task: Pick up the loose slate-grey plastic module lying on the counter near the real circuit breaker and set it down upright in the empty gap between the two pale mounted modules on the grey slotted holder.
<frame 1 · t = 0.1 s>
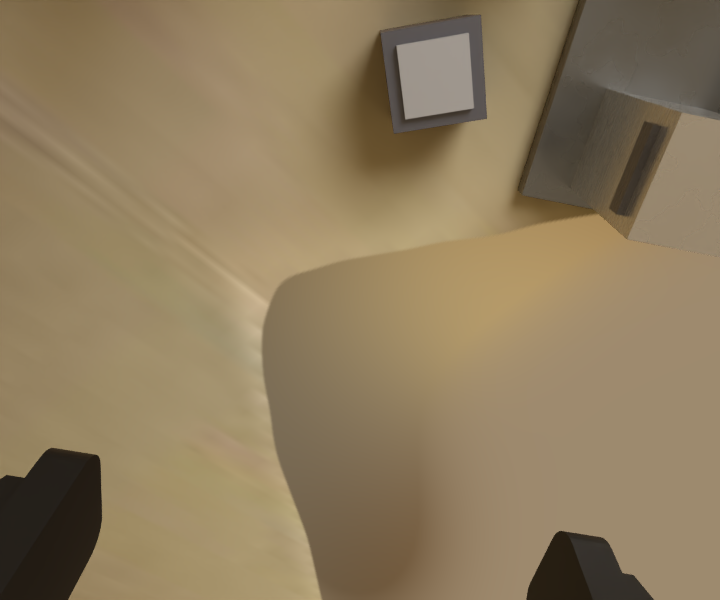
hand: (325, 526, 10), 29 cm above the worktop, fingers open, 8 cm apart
grey slotted holder: (679, 2, 31), on the worktop
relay: (427, 68, 33), on the worktop
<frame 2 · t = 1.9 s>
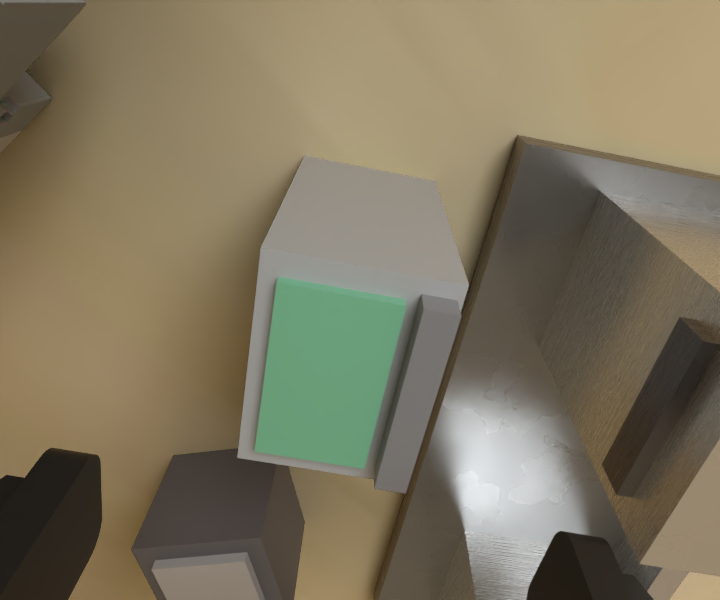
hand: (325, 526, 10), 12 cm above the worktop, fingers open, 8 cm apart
module: (354, 248, 20), on the worktop
grey slotted holder: (553, 438, 24), on the worktop
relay: (241, 488, 26), on the worktop
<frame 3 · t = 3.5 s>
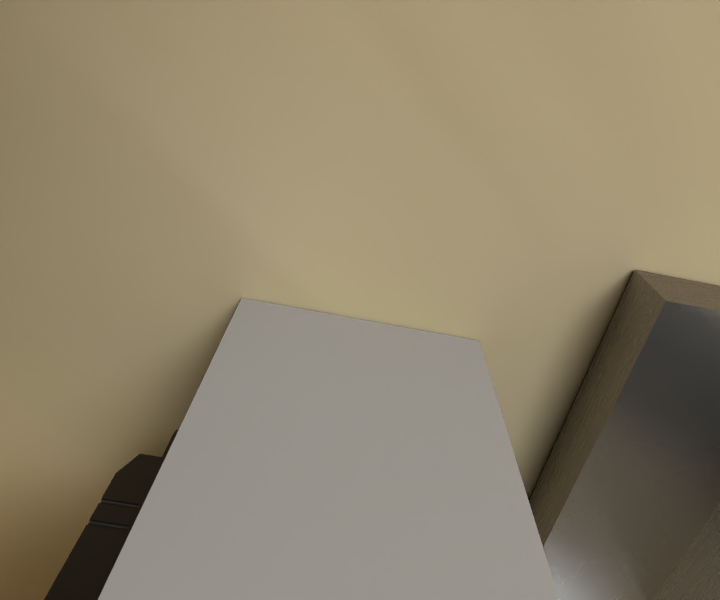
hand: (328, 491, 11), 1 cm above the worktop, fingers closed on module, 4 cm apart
module: (334, 441, 12), on the worktop, touching gripper
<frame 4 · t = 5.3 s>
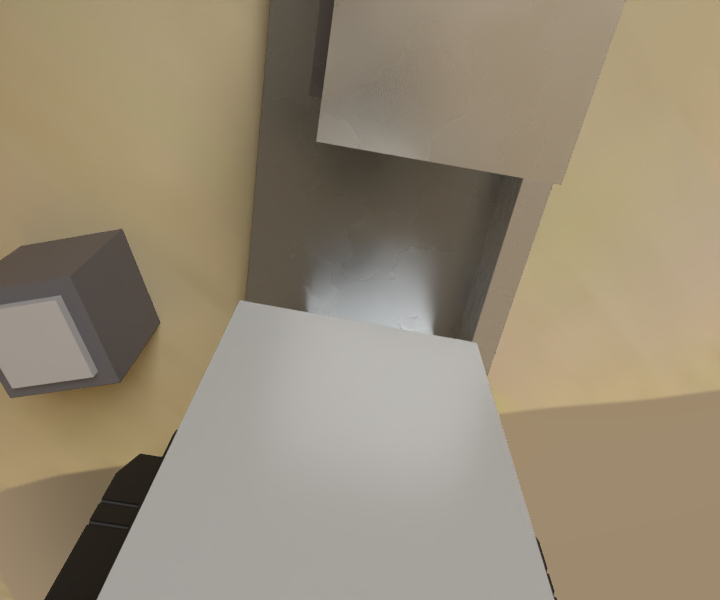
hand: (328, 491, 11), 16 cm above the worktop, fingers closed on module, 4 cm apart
module: (333, 443, 12), point 15 cm above the worktop, touching gripper
grey slotted holder: (383, 213, 25), on the worktop
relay: (93, 284, 27), on the worktop
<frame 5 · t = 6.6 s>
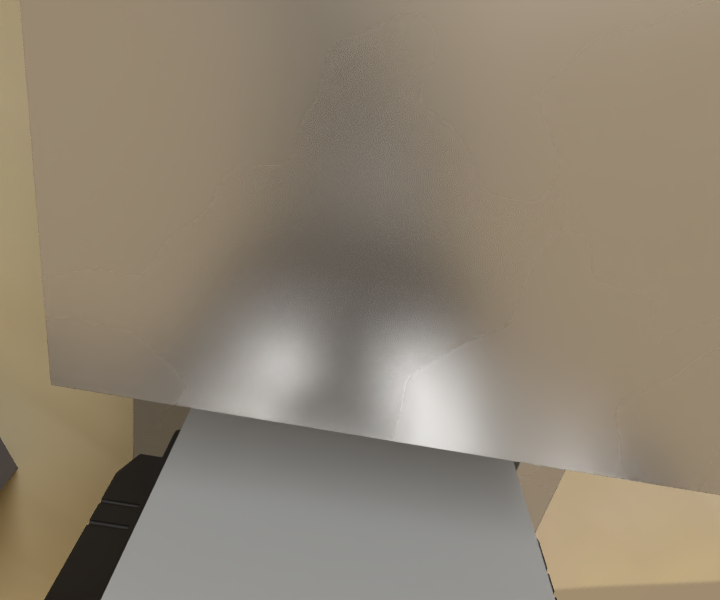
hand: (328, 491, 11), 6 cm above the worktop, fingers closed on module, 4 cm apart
module: (334, 444, 12), point 5 cm above the worktop, touching gripper
grey slotted holder: (346, 329, 16), on the worktop
when the fingers open (4 cm above the worktop, at t = 7.3 s): module drops 1 cm, resting on grey slotted holder.
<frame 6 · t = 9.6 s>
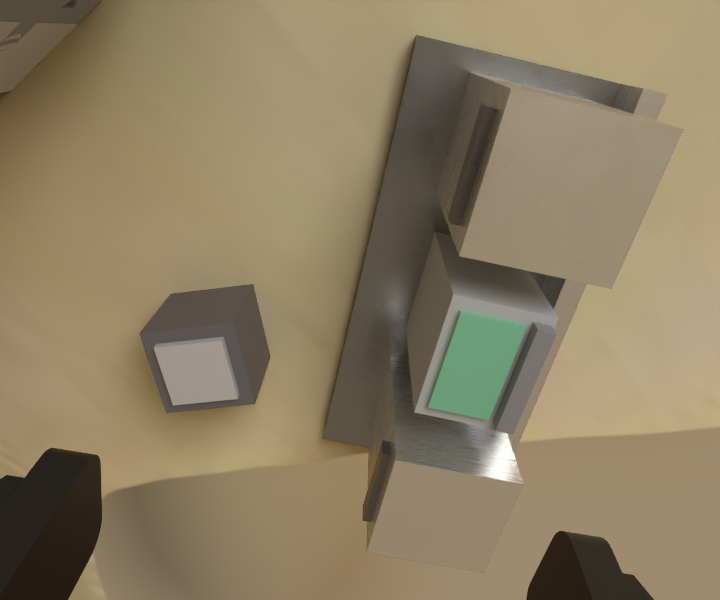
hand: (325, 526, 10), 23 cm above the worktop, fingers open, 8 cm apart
module: (458, 290, 31), point 1 cm above the worktop, touching grey slotted holder
grey slotted holder: (456, 281, 32), on the worktop
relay: (222, 325, 34), on the worktop
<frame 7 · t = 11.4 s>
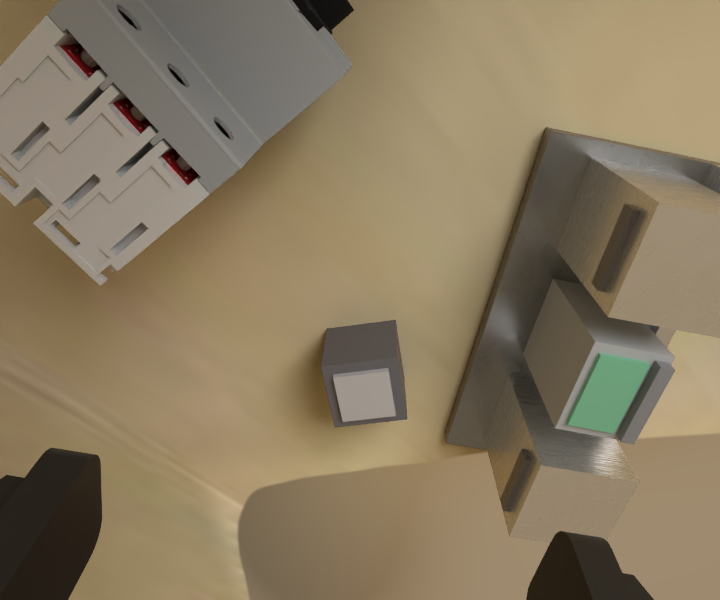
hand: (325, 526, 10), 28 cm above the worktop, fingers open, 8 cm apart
module: (568, 323, 38), point 1 cm above the worktop, touching grey slotted holder
grey slotted holder: (563, 315, 39), on the worktop
circuit breaker: (241, 64, 33), on the worktop
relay: (366, 353, 41), on the worktop
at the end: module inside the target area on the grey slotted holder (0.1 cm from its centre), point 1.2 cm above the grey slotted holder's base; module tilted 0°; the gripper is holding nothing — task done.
